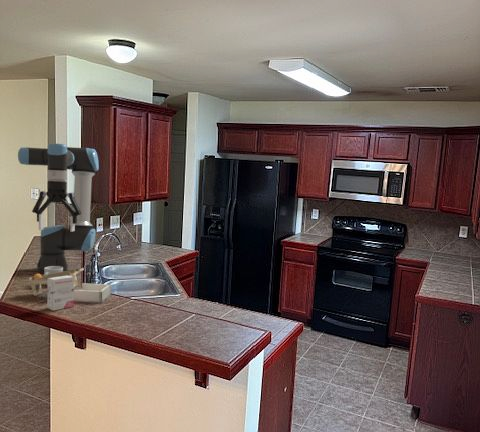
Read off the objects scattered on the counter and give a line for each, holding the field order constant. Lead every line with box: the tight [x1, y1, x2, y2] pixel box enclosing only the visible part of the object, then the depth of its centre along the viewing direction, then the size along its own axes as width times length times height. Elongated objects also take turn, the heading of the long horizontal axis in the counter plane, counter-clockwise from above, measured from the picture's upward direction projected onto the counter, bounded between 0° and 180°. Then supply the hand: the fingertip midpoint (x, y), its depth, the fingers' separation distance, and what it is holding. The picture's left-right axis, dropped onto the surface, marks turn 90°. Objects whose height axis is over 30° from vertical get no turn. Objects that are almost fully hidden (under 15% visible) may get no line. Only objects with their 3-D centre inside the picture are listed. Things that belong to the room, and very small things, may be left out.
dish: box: [74, 282, 112, 304], centre depth 186 cm, size 12×12×4 cm
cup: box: [42, 266, 64, 286], centre depth 202 cm, size 11×8×8 cm
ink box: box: [46, 275, 75, 311], centre depth 171 cm, size 9×5×12 cm, turn 137°
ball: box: [33, 273, 43, 279], centre depth 186 cm, size 3×3×3 cm
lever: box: [28, 267, 85, 297], centre depth 190 cm, size 15×17×8 cm
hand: (56, 230), depth 191 cm, fingers open, 13 cm apart
